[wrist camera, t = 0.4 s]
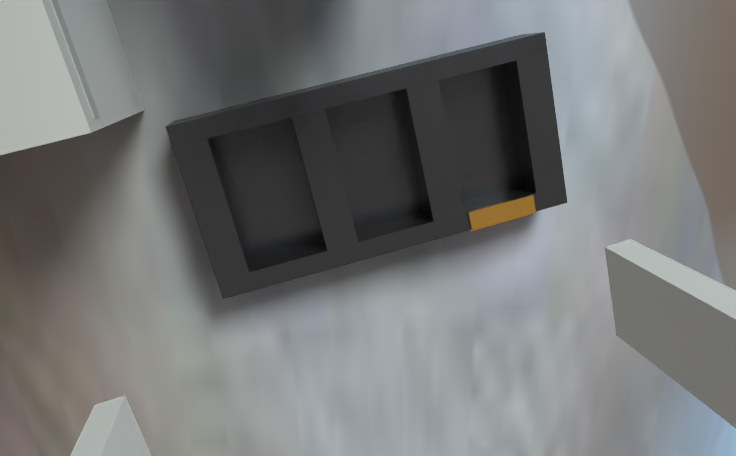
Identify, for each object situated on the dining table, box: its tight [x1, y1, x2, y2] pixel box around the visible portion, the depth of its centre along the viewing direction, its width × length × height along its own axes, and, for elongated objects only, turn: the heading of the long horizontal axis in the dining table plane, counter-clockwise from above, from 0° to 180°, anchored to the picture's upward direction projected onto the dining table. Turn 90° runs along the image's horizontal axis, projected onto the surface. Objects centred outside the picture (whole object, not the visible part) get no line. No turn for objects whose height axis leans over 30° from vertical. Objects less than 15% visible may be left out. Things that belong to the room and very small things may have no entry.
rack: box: [166, 32, 567, 299], centre depth 38 cm, size 11×23×4 cm, turn 103°
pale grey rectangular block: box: [0, 0, 144, 155], centre depth 30 cm, size 7×4×12 cm, turn 13°
